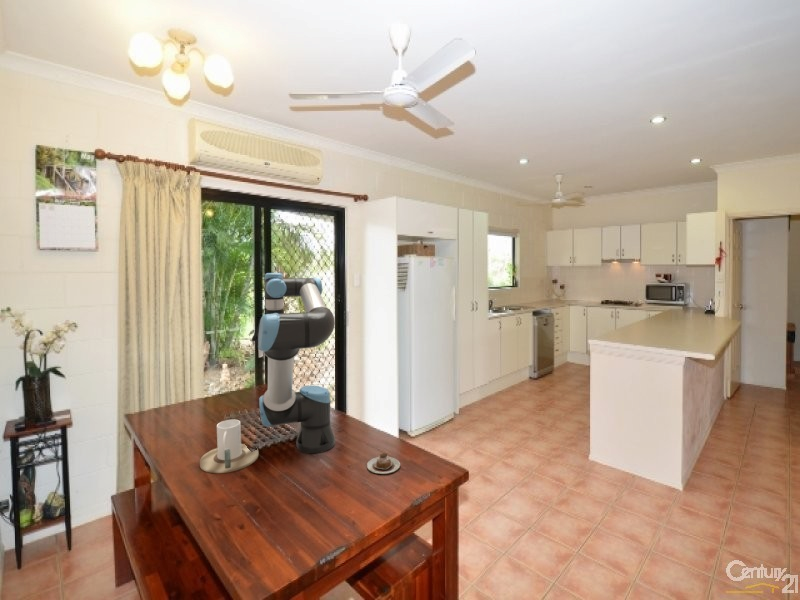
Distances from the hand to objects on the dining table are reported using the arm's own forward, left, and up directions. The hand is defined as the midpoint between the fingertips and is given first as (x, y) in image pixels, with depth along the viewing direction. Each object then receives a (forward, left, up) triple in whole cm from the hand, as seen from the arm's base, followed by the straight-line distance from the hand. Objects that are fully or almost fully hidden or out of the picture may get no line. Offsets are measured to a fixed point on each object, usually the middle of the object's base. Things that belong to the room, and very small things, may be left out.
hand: (275, 357), depth 171 cm
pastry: (-51, +28, -32) cm, 67 cm away
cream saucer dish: (+6, +29, -32) cm, 43 cm away
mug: (+6, +30, -31) cm, 43 cm away
